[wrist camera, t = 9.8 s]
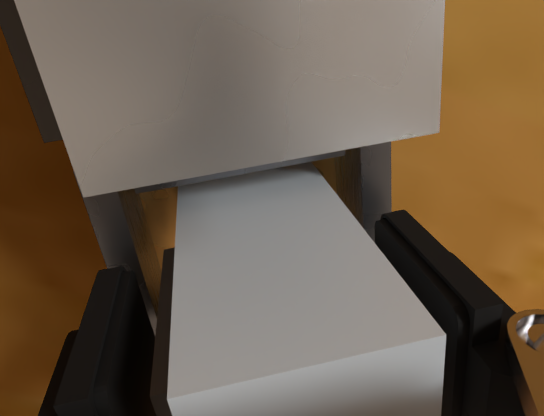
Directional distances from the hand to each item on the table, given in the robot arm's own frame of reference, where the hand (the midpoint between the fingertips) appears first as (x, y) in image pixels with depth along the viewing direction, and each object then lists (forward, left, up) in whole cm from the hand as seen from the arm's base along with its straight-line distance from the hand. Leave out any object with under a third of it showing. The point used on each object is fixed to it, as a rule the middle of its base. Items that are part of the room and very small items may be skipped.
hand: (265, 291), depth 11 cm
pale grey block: (0, 0, -3) cm, 3 cm away
